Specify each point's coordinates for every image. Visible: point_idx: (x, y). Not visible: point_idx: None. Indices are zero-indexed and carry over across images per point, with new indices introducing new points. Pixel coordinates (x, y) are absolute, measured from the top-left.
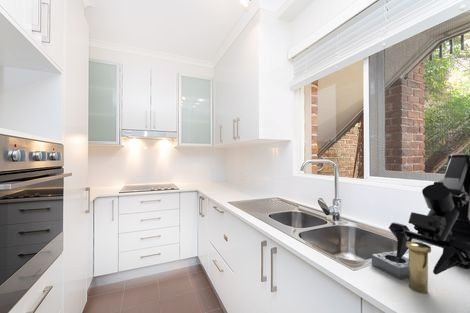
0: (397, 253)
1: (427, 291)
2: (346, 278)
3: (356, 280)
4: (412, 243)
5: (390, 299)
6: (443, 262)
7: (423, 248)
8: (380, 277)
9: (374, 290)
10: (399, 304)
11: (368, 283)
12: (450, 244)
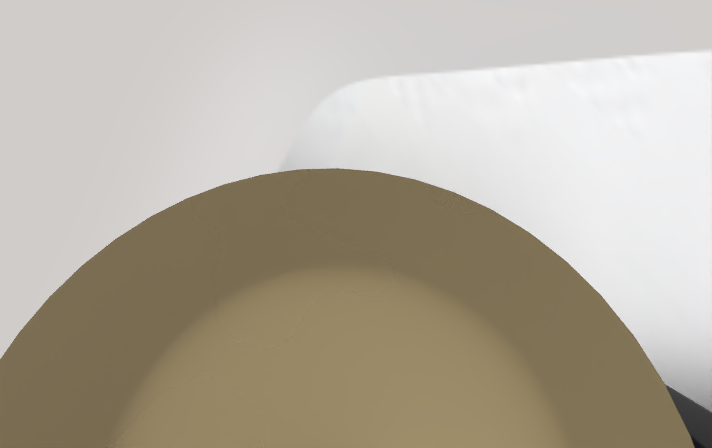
0: (691, 409)
1: None
2: (671, 68)
3: (631, 111)
4: None
5: (383, 134)
6: None
7: (75, 318)
8: (640, 337)
9: (489, 125)
10: (331, 140)
11: (575, 157)
12: None
